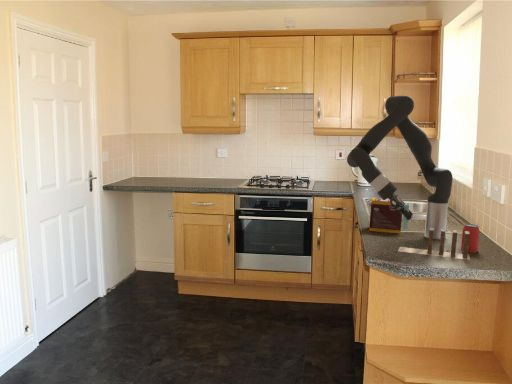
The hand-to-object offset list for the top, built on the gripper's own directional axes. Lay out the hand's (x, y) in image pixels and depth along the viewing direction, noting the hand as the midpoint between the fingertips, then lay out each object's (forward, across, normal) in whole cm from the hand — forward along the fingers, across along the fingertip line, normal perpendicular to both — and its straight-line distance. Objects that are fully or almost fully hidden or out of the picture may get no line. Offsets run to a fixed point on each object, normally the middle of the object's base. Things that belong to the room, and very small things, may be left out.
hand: (410, 217), depth 206 cm
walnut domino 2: (+19, 0, +1) cm, 19 cm away
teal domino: (+2, 0, +5) cm, 5 cm away
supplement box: (+1, +40, +21) cm, 45 cm away
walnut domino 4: (+26, 0, -6) cm, 26 cm away
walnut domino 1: (+16, 0, +4) cm, 16 cm away
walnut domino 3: (+22, 0, -2) cm, 23 cm away
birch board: (+18, 0, +4) cm, 18 cm away
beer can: (+28, +12, -6) cm, 31 cm away
